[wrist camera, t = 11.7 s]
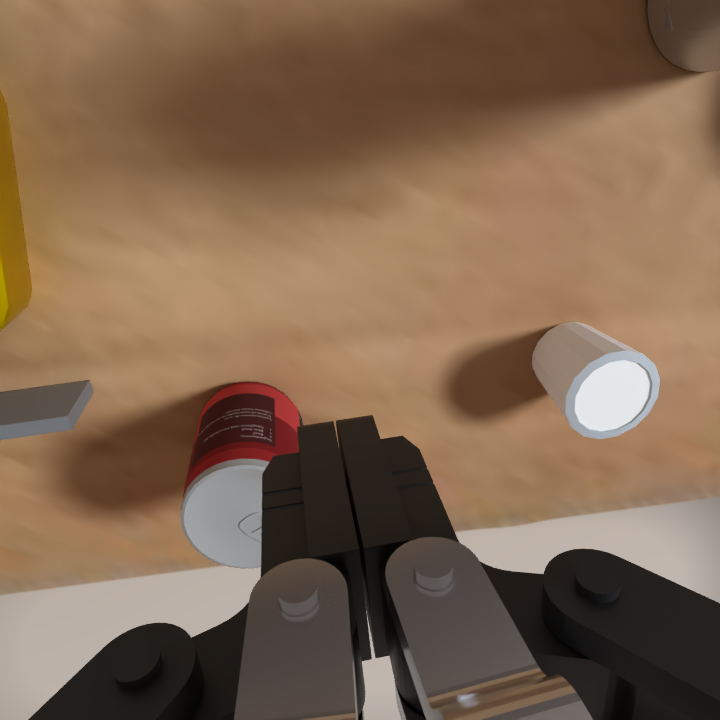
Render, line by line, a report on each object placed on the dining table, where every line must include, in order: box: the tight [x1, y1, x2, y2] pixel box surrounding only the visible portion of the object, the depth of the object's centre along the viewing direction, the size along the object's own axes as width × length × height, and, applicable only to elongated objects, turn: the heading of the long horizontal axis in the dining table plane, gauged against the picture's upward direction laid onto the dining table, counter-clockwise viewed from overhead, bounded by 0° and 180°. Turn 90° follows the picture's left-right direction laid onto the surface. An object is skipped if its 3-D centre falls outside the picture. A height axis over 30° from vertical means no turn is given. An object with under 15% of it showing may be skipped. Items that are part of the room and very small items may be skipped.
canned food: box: [181, 382, 303, 568], centre depth 39 cm, size 8×8×11 cm
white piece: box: [532, 322, 660, 439], centre depth 42 cm, size 7×7×7 cm
